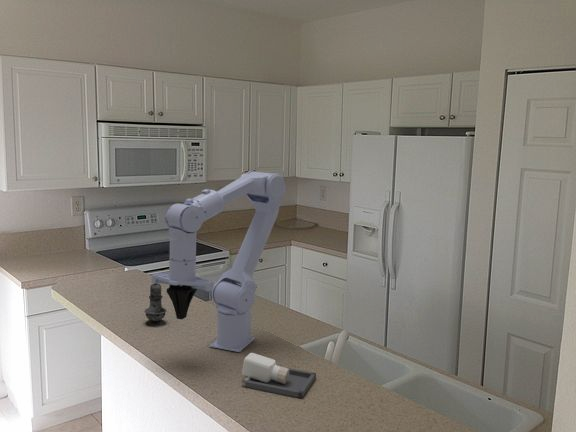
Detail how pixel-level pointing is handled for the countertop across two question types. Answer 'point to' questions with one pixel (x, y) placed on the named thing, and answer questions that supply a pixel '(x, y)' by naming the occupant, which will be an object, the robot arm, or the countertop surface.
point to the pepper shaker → (264, 369)
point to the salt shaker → (155, 307)
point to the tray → (293, 387)
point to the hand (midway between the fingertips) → (181, 317)
